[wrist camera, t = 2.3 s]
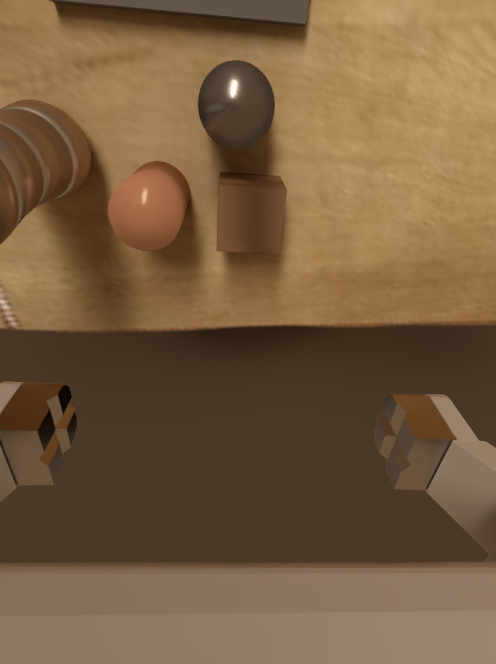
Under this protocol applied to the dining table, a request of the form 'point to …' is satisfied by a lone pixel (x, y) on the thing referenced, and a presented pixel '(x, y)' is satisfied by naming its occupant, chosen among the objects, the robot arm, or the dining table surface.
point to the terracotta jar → (150, 206)
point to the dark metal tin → (236, 104)
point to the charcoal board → (215, 8)
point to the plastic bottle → (38, 159)
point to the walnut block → (250, 213)
